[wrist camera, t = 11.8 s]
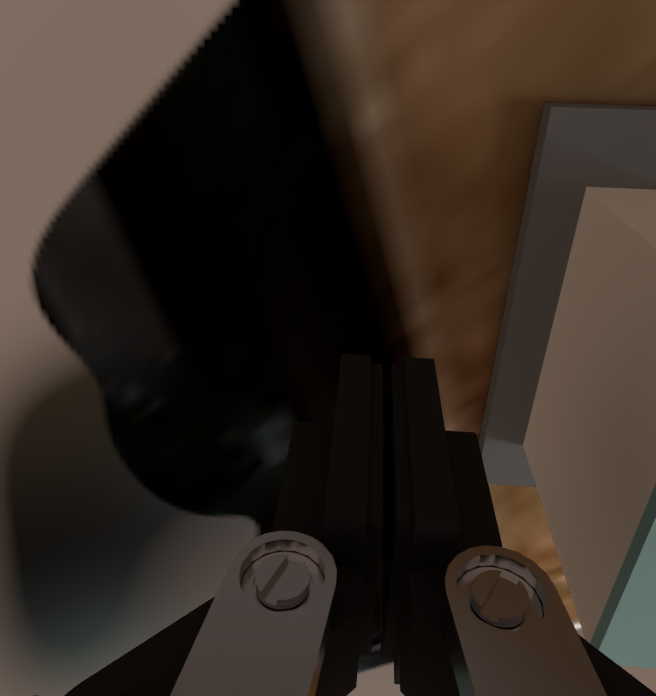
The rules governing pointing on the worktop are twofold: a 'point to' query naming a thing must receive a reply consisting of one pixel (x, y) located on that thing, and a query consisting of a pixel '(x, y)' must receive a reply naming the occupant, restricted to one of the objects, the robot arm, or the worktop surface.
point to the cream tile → (604, 424)
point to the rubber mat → (554, 256)
